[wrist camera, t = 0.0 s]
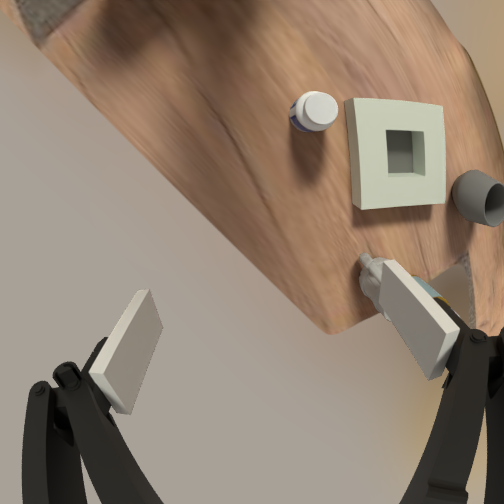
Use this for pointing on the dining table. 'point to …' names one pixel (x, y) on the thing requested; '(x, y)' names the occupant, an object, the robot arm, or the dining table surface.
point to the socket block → (396, 153)
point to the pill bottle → (313, 112)
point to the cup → (479, 198)
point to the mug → (372, 279)
